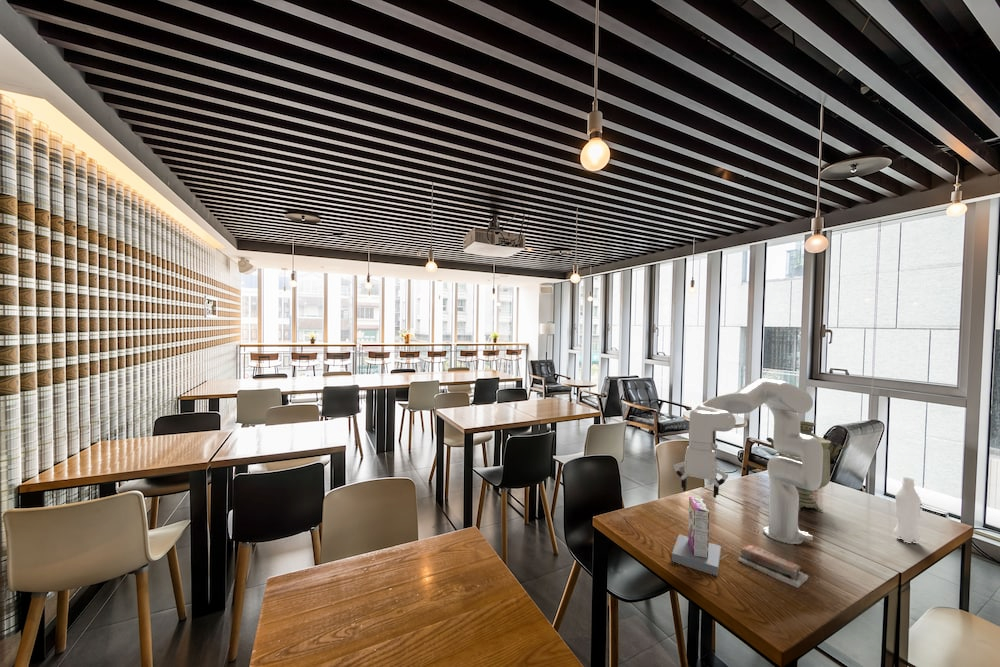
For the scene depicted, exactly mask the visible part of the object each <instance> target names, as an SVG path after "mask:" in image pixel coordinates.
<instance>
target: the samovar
mask: <svg viewBox="0 0 1000 667" xmlns="http://www.w3.org/2000/svg"><path fill="white" fill-rule="evenodd" d="M816 425H817V423H815V422H812V421H811V422H810V421H804V420H800V432H801V434H805V435H809V436H812V437H815V438H817V439H818V440H819V441H820V442H821V444H822V447H823V466H822V480H821V484H820V486H819V488H818V489H817V490H821V489H822V488H825V487H826V486H827V485H828V484H830V481H831V457H836V456H837V455H839V450H844V449H845V447H844V446H843V445H841V443H837V442H832V441H831V440H829V439H828V438H829V437H830V435H829V434H823V437H821V436H818V435H817V434H815V433H814V432H813V431H814V427H815V426H816ZM765 439H766V441H767V442H768V443H770V446H771V447H772V448H773V449H774V450H775V448H774V444H773V438H772V437H766V438H765ZM833 447H835V449H834V448H833ZM833 451H834V452H833ZM778 456H781V457H786V458H789V459H793V460H796V461H799V462H802V460H801V459H799V458H796V457H792V456H789V455H785V454H782V453H780V452H778ZM795 487H796V489H797V491H798V495H799V506H798V511H801V509H802V508H804V507H805V508H811V509H813V508H814V509H816V510H817V511H819V512H820V511H823V512H824V510H823V509H821V508H820V506H819V504H818V502H817V500H815V499H814V498H813V497H811V496H810V495H813V494H814V491H810V490H806V489H803V488H800V487H797V486H795Z"/></svg>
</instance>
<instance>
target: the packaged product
mask: <svg viewBox="0 0 1000 667" xmlns="http://www.w3.org/2000/svg"><path fill="white" fill-rule="evenodd" d="M740 550H741V551H740V552H741V553H740V556H739V557H738V559H737V561H738V562H739V561H740V563H741V562H742V564H744V565H746V564H747V565H746V566H748V567H750V566H751V568H752V567H753V569H754V570H756V569H757V571H759V572H760V573H763V574H766V575H767V574H768V576H770V577H772V578H774V579H777V580H779V581H781V582H782V583H786V584H788V585H790V586H792V587H795V588H798V589H799V588H800V587H801V586H802V585H803V584H804V583H805V582H807V581H808V578H809V577H810V576H809V574H806V573H804V572H802V571H800V570H801V566H800V565H798V564H797V563H794V562H791V561H789V560H786V559H784V558H782V557H780V556H778V555H775V554H773V553H770V552H769V551H766V550H764V549H762V548H759V547H757V546H754V545H751V544H747V545H746V546H744V547H742V548H741V549H740Z"/></svg>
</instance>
